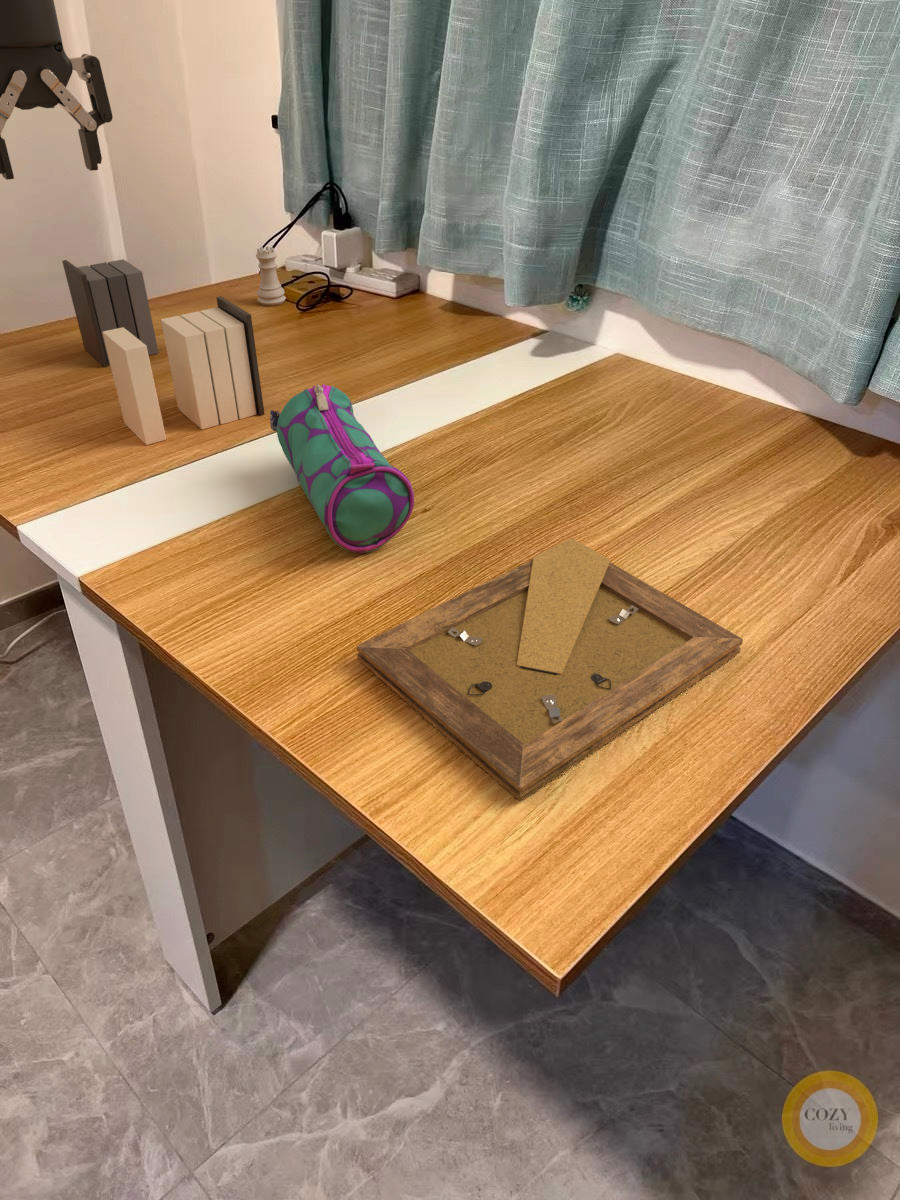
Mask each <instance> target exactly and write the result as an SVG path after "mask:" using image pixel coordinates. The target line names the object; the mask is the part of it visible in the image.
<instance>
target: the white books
mask: <svg viewBox="0 0 900 1200" xmlns="http://www.w3.org/2000/svg"><path fill="white" fill-rule="evenodd" d="M216 303H217V306H216V307H213V308H207V309H202V310H200V311H199V310H197V311H193V312H189V313H184V314H180V315H174V316H170V317H165V318H161V319H160V324H161V329H162V334H163V339H164V344H165V349H166V355H167V359H168V364H169V369H170V374H171V380H172V385H173V390H174V394H175V395H174V396H175V400H176V405H177V409H178V411H180V412H181V413H182V414H184V416H185V417H187V418H188V420H190V421H191V422H192V423H193V424H194V425H195V426H196V427H198V428H199V429H200V430H202V431H203V430H206V429H209V428H214V427H218V426H220V425H224V424H228V423H232V422H236V421H238V420H242V419H245V418H250V417H253V416H257V415H258V416H264V415H265V407H264V400H263V392H262V385H261V378H260V371H259V364H258V356H257V349H256V342H255V335H254V328H253V327H254V326H253V320H252V314H251V313H249V312H247V311H246V310H244V309H242V308H241V307H239V306H238V305H236V304H234V303H232V302H231V301H229V299H226V298H224V297H223V296H217V297H216Z"/></svg>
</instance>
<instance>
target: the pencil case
mask: <svg viewBox="0 0 900 1200" xmlns="http://www.w3.org/2000/svg"><path fill="white" fill-rule="evenodd" d="M269 425H270V429H271V430H272V431H273V432H276V436H277V440H278V443H279V446H280V447H281V450H282V452H283V454H284V456H285V458H286V460H287V461H288V463H289V464H290V466H291V468H292V470H293V471H294V474H295V476H296V479H297V481H298V483H299V485H300V486H301V488H302V490H303V493H304V495H305V496H306V498H307V500H308V501H309V503H310V505H311V507H312V509H313V511H314V512H315V514H316V515H317V516H318V518H319V520H320V522H321V523H322V524H323V526H324V528H325V529H326V532H327V534H328V536H329V537H330V538H331V540H332V541H333V543H335V544H336V545H337V546H338V547H339V548H341V549H343V550H345V551H348V552H351V553H357V554H358V553H360V554H363V553H366V554H367V553H372V552H374V551H376V550H378V549H380V548H382V547H383V546H385V545H386V544H387V543H388V542H389V541H391V540H392V539H393V538H394V537H395V536H397V534H398V533H400V531H401V530H402V529H403V527H405V525H406V524H407V522H409V519H410V517H411V516H412V513H413V510H414V507H415V491H414V488H413V485H412V483H411V481H410V480H409V478H408V477H407V476H406V474H404V472H402V471H401V470H400V469H398V468H397V467H395V466H393V465H392V464H390V463H389V461H388V460H387V458H386V457H385V456H384V455H383V454H382V452H381V451H380V450H379V448H378V447H377V446H376V444H375V442H374V440H373V439H372V437H371V436H370V434H369V433H368V431H367V430H366V429H365V427H364V426H363V424H361V423H360V422H359V421H358V420H357V418H356V417H355V414H354V407H353V404H352V401H351V399H350V397H349V395H348V394H346V393H345V392H344V391H342V390H340V389H339V388H338V387H335V386H334V385H327V384H321V385H320V384H316V385H313V386H312V387H310V388H305V389H304V390H302V391H300V392H299V393H297V394H295V395H294V396H292V397H291V398H290V399H289V400H288V401H287V402H286V404H285V405H284V407H283V408H282V410H281V411H279V410H273V409H271V410H270V412H269Z"/></svg>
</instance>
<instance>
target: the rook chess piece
mask: <svg viewBox="0 0 900 1200" xmlns="http://www.w3.org/2000/svg"><path fill="white" fill-rule="evenodd" d="M277 256H278V254H277V253H276V252H275V248H274V247H272V246H265V249H264V246H259V248H257V249H256V254H255V258H256V259H257V260H258V265H257V267H258V268H259V272H260V273H259V275H260V276H259V277H260V280H259V285H258V289H257V291H256V295H257V296H258V297H257V298H256V300H257V302H258V303H259V304H260V305H262V306H266V307H267V306H268V307H272V306H274V307H275V306H278V305H282V304H284V302H285V300H286V299H287V297H286V296H285V295H284V294H285V293H286V292H285V289H284V288H283V287H282V284H281V283H280V281H279V278H278V272H277V266H278V265H277V263H276V258H277Z"/></svg>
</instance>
